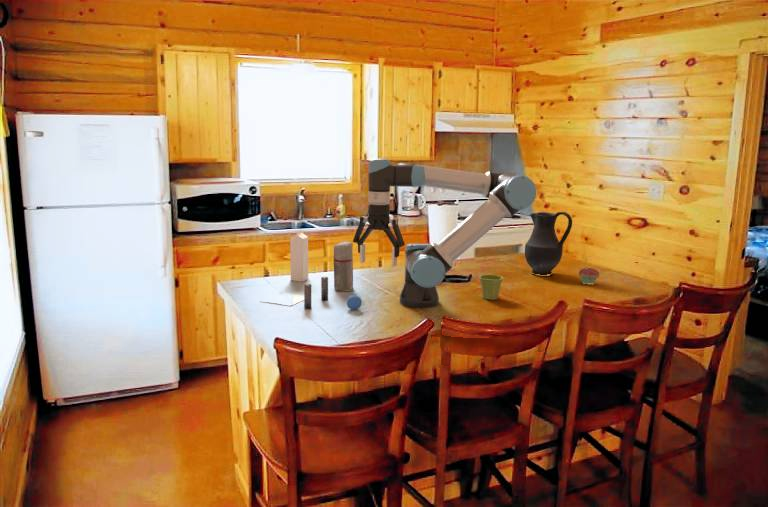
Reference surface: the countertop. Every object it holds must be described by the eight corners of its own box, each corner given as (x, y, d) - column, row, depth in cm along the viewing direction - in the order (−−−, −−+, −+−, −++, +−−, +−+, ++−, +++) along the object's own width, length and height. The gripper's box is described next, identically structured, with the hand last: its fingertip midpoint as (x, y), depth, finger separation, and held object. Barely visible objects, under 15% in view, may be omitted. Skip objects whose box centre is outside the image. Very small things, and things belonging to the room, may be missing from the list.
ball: (364, 308, 228) (364, 294, 227) (357, 312, 223) (357, 298, 222) (350, 306, 230) (351, 292, 229) (344, 310, 226) (344, 296, 224)
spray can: (350, 292, 250) (350, 244, 246) (331, 291, 252) (331, 243, 248) (355, 287, 258) (356, 240, 254) (336, 286, 260) (336, 239, 256)
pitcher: (531, 268, 300) (535, 207, 294) (573, 274, 288) (579, 211, 282) (517, 274, 286) (521, 210, 280) (560, 281, 274) (565, 214, 268)
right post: (329, 299, 240) (329, 277, 238) (326, 301, 237) (325, 278, 235) (323, 298, 241) (323, 276, 239) (320, 300, 238) (320, 277, 236)
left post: (312, 307, 228) (312, 284, 226) (309, 309, 226) (308, 286, 224) (306, 307, 229) (306, 283, 227) (303, 308, 227) (302, 285, 225)
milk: (290, 280, 268) (289, 230, 264) (295, 277, 274) (294, 228, 270) (303, 281, 267) (302, 231, 262) (308, 278, 273) (307, 229, 268)
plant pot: (473, 296, 248) (474, 275, 246) (493, 294, 252) (494, 273, 250) (486, 302, 240) (487, 280, 238) (506, 300, 243) (507, 278, 241)
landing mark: (310, 297, 242) (310, 296, 242) (290, 306, 230) (290, 305, 230) (279, 293, 248) (279, 292, 248) (259, 301, 235) (259, 301, 235)
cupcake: (577, 285, 269) (579, 258, 266) (579, 280, 276) (581, 254, 274) (598, 287, 266) (600, 260, 263) (599, 282, 273) (601, 256, 271)
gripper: (343, 202, 217) (343, 262, 221) (406, 206, 207) (405, 269, 211) (353, 200, 223) (352, 258, 228) (414, 204, 214) (413, 265, 218)
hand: (378, 264), depth 220 cm, fingers open, 12 cm apart
